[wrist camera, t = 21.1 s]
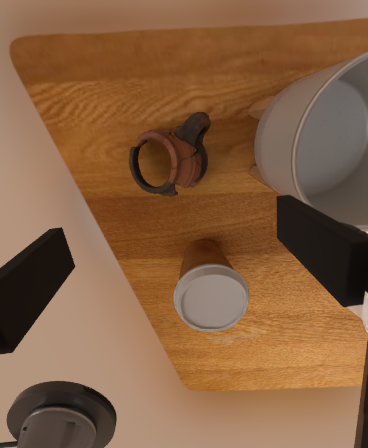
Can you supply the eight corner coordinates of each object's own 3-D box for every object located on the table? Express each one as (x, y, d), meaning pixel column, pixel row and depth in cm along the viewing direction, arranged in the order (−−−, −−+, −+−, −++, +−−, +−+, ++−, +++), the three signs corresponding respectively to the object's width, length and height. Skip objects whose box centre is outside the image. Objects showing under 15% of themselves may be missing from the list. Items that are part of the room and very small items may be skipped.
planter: (284, 62, 31) (407, -12, 15) (348, 129, 34) (509, 131, 18) (218, 147, 35) (256, 164, 18) (281, 201, 38) (364, 258, 21)
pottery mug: (191, 202, 38) (161, 215, 31) (149, 163, 40) (112, 168, 33) (240, 133, 32) (216, 131, 25) (187, 91, 33) (151, 78, 27)
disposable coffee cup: (163, 265, 41) (158, 316, 30) (193, 219, 39) (200, 257, 27) (210, 289, 43) (222, 345, 32) (242, 247, 41) (267, 292, 29)
